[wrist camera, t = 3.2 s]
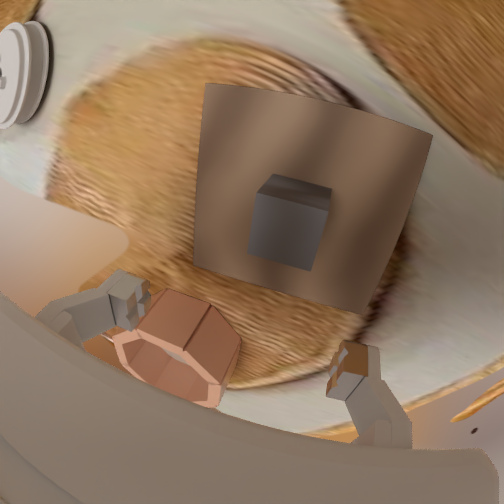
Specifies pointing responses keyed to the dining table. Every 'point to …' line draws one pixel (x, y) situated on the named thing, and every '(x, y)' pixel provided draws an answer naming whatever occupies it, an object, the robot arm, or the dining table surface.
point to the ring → (181, 348)
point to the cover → (302, 193)
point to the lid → (22, 71)
